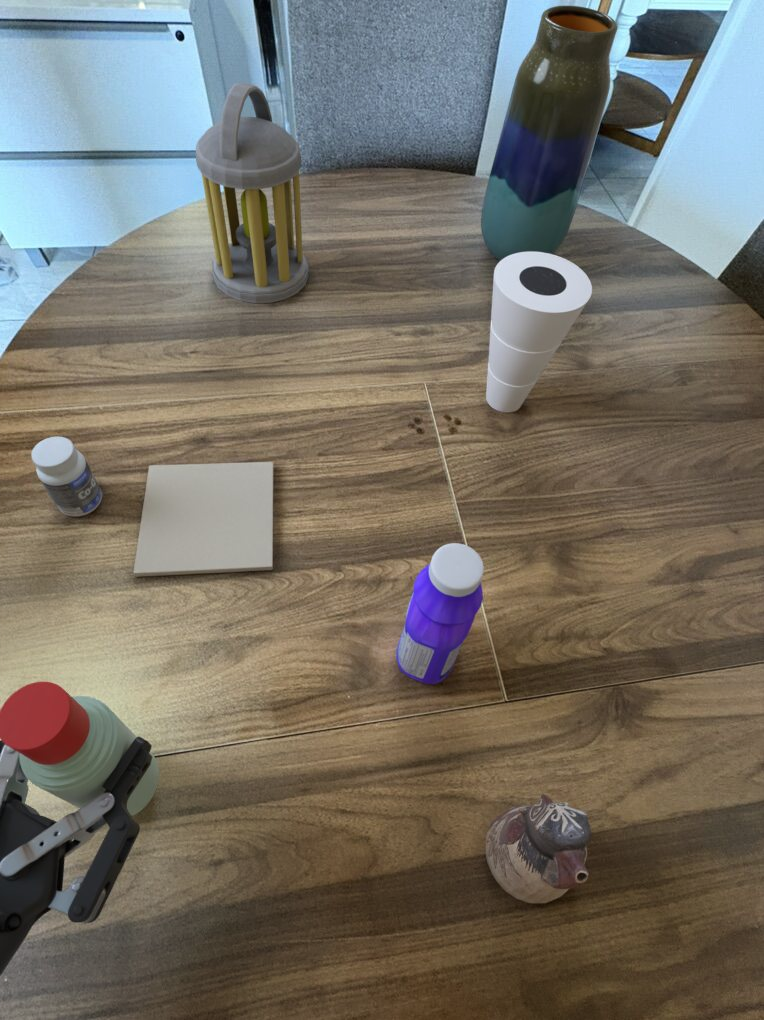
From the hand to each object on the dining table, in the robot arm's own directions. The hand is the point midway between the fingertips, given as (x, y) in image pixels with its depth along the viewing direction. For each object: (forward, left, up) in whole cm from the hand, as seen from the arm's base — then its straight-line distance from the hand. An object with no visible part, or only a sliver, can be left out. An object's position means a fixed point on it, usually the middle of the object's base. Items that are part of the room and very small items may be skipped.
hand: (105, 720), depth 44 cm
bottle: (+26, +8, -12) cm, 29 cm away
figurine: (+32, -10, -12) cm, 35 cm away
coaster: (+4, +25, -11) cm, 28 cm away
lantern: (+9, +69, -12) cm, 70 cm away
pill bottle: (-10, +28, -12) cm, 32 cm away
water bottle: (-1, -2, -10) cm, 10 cm away
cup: (+41, +42, -12) cm, 60 cm away
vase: (+50, +75, -12) cm, 91 cm away
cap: (-1, -2, +5) cm, 6 cm away
